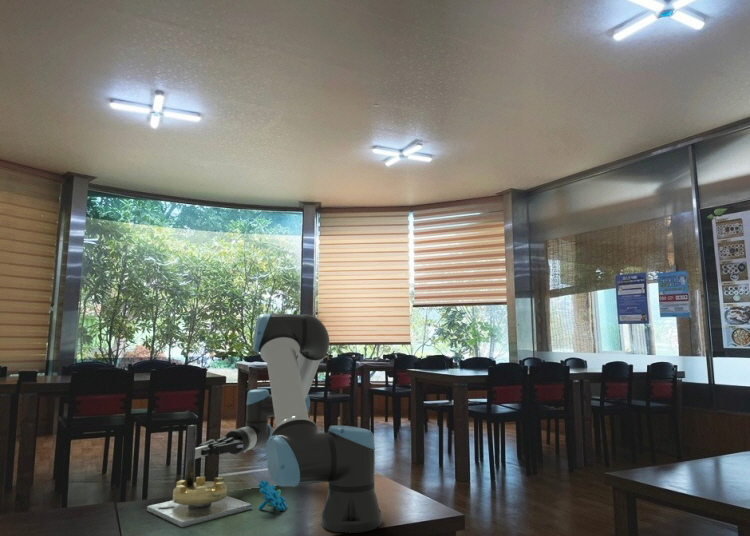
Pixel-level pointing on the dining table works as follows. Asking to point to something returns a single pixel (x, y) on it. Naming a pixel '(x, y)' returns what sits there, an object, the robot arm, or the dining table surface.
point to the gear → (271, 496)
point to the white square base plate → (197, 511)
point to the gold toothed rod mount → (197, 480)
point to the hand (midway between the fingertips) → (191, 454)
